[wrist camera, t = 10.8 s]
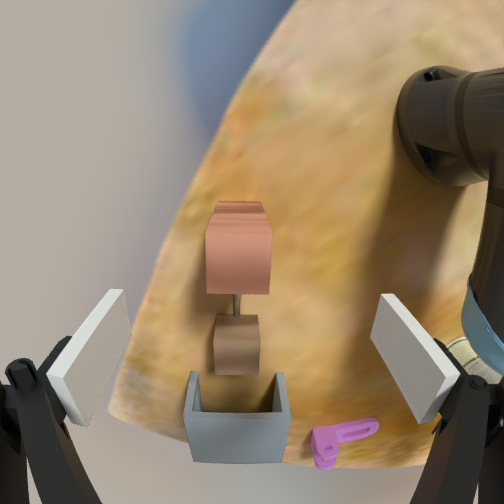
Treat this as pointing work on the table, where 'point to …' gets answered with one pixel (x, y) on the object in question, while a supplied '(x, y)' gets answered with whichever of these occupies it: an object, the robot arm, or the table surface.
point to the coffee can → (472, 360)
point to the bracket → (338, 439)
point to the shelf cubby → (237, 429)
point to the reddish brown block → (237, 280)
